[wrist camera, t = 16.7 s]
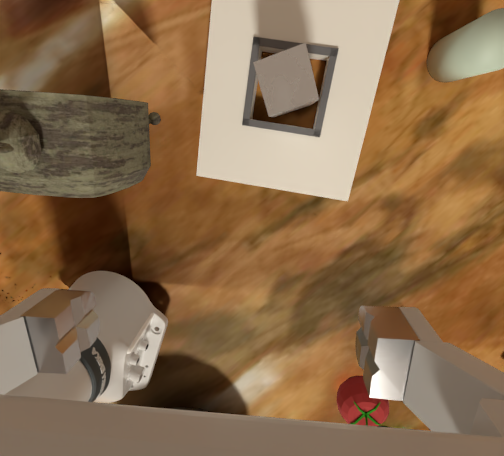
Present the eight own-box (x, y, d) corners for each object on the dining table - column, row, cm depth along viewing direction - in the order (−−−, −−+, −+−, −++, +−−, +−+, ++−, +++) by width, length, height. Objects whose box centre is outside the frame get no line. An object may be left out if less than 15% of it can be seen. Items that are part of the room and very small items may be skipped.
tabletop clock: (170, 105, 42) (20, 85, 19) (171, 173, 45) (43, 229, 22) (68, 99, 44) (-193, 73, 20) (76, 165, 46) (-143, 210, 23)
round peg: (463, 85, 38) (513, 74, 29) (421, 79, 38) (458, 67, 30) (479, 37, 36) (537, 12, 28) (434, 31, 36) (479, 4, 28)
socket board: (344, 196, 43) (348, 201, 40) (202, 172, 45) (195, 175, 42) (395, -11, 36) (406, -24, 32) (221, -33, 37) (215, -48, 34)
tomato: (324, 379, 54) (330, 419, 46) (364, 358, 51) (376, 396, 44) (351, 409, 55) (360, 453, 48) (391, 390, 53) (407, 433, 46)
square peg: (311, 104, 40) (319, 99, 30) (273, 117, 41) (268, 116, 31) (301, 63, 39) (305, 42, 29) (262, 77, 40) (253, 62, 30)
